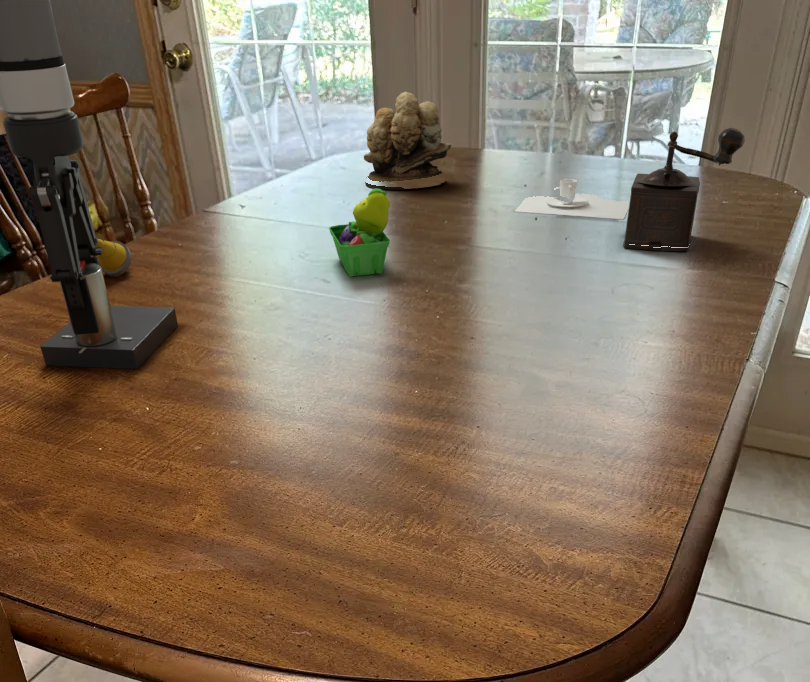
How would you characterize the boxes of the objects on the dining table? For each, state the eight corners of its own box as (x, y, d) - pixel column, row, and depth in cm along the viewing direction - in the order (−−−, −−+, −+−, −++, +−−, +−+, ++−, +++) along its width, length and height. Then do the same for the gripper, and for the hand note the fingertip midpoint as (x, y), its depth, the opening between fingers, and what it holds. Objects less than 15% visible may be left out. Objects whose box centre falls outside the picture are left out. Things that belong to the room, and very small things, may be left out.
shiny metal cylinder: (114, 344, 101) (96, 273, 96) (72, 347, 101) (52, 275, 95) (120, 329, 105) (103, 259, 100) (80, 331, 105) (61, 261, 99)
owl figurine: (449, 175, 177) (450, 85, 166) (452, 189, 167) (453, 94, 157) (365, 177, 177) (361, 87, 167) (363, 191, 167) (358, 97, 157)
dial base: (39, 371, 101) (33, 350, 100) (94, 322, 114) (89, 303, 112) (132, 374, 100) (127, 354, 98) (178, 325, 112) (174, 306, 111)
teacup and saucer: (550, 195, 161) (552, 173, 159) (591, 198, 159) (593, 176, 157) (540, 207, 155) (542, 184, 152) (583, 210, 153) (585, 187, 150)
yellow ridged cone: (145, 272, 132) (114, 243, 122) (117, 290, 132) (84, 261, 122) (131, 245, 132) (99, 214, 123) (103, 263, 133) (69, 233, 123)
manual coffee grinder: (621, 249, 134) (637, 127, 123) (627, 230, 142) (643, 114, 132) (721, 257, 130) (747, 131, 119) (722, 236, 138) (746, 117, 128)
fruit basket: (329, 258, 134) (324, 184, 127) (383, 252, 136) (380, 179, 129) (343, 280, 125) (338, 202, 118) (400, 274, 127) (398, 197, 120)
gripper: (24, 99, 95) (76, 295, 109) (-25, 132, 80) (43, 355, 93) (91, 96, 96) (134, 291, 110) (55, 128, 80) (111, 351, 94)
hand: (92, 320), depth 101 cm, fingers open, 7 cm apart
